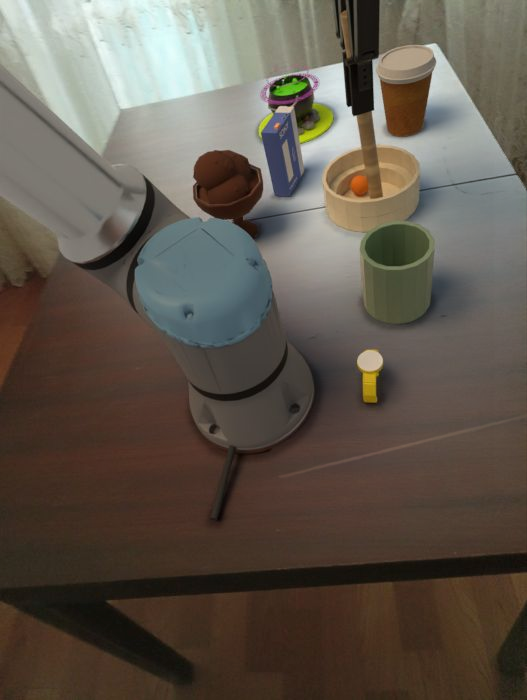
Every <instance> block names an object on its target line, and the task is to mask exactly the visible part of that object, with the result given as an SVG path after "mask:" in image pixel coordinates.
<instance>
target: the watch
mask: <svg viewBox="0 0 527 700" xmlns="http://www.w3.org/2000/svg"><path fill="white" fill-rule="evenodd" d="M356 365H357V366H356V367H357V369H358V371H360V372H361V373H362V398H363V402H364V403H371V404H374V403H375V404H377V402H378V397H377V377H379V375H380V373H379V372H381V370H382V369H383V367H384V358H383V356H382V355H381V354H380V352H379V350H378V349H365V350H364V351H362V353H360V354H359V355H358V357H357V359H356Z"/></svg>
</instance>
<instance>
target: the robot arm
mask: <svg viewBox="0 0 527 700" xmlns="http://www.w3.org/2000/svg"><path fill="white" fill-rule="evenodd" d="M380 5H381V0H332V10H333V18H334V28H335V36H336V39H337V40H339V41H340V42H339V46H340V48H341V50H342V53H341V54H342V65H343V78H344V92H345V104H346V106H347V108H350V107H351V115H352V116H353V117H357V115H360V114H364V113H367V112H370V111H372V112H373V111H375V92H374V67H373V65H374V64H373V62H374V60H377V59H379V58H380V16H381V15H380V13H381V11H380V9H381V8H380V7H381V6H380ZM345 10H347V21H348V32H349V43H350V54H351V57H350V58H347V55H346V49H345V43H344V36H343V30H342V24H341V18H340V14H341V13H342V12H343V11H345ZM348 66H349V67H348ZM0 197H1V198H3V199H5V201H7V202H9V203H11V204H12V205H14V206H15V207H16V208H18V209H19V210H21V211H22V212H23V213H25V214H27V215H28V216H30V217H31V218H32V219H34V220H35V221H37V222H38V223H39V224H41V225H43V226H45V228H47V229H48V230H50V231H52V232H53V233H55V234H56V241H57V246H58V249H59V251H60V253H61V255H62V256H63V257H64V258H65V259H66V260H68V261H69V262H71V263H72V264H74V265H75V266H77V267H79V268H80V269H82V270H83V271H84V272H86V273H88V274H89V275H91V276H92V277H94V278H96V279H97V280H99V281H100V282H102V283H103V284H105V285H107V286H108V287H109V288H110V289H112V290H113V291H114V292H115V293H117V294H118V295H119V296H120V297H121V298H122V299H123V300H124V301H125V302H126V304H128V306H129V307H131V308H132V310H133V311H134V312H135V313H136V314H137V315H138V316H139V317H140V318H141V319H142V320H143V322H145V323H146V324H147V325H148V326H149V327H150V328H151V329H152V331H153V332H154V333H155V334H156V335H157V336H158V337H159V338H160V340H162V341H163V342H164V344H165V345H166V346H167V348H168V349H169V350H170V352H171V354H172V355H173V357H174V358H175V360H176V362H177V364H178V366H179V367H180V369H181V370H182V372H183V374H184V376H185V378H186V379H187V382H188V401H189V402H188V405H189V410H190V413H191V416H192V419H193V421H194V424H195V426H196V427H197V429H198V430H199V432H200V433H201V435H202V436H203V437H204V438H205V439H206V440H207V441H208V442H209V443H210V444H212V445H214V446H215V447H216V448H219V449H221V450H223V451H225V452H226V457H225V461H224V464H223V468H222V472H221V476H220V479H219V483H218V486H217V487H218V488H217V492H216V496H215V500H214V503H213V506H212V509H211V513H210V516H209V519H210V520H212V521H218V520H219V519H218V518H219V515H220V512H221V510H222V509H221V508H222V505H223V502H224V497H225V493H226V489H227V485H228V482H229V478H230V473H231V469H232V465H233V461H234V458H235V454H240V455H241V454H244V455H250V454H257V453H263V452H266V451H269V450H272V448H275V447H276V446H278V445H280V444H282V443H284V442H285V441H286V440H288V439H290V438H291V437H292V436H293V435H294V434H296V433H297V432H298V431H299V429H300V428H301V427H302V426H303V425H304V423H305V422H306V421H307V419H308V417H309V415H310V414H311V411H312V408H313V406H314V402H315V394H316V393H315V391H316V390H315V384H314V382H315V381H314V378H313V374H312V371H311V368H310V366H309V365H308V363H307V361H306V360H305V358H304V356H303V355H302V354H301V353H300V352H299V351H298V350H297V349H296V348H295V346H293V345H292V344H291V342H290V341H288V339H287V337H286V334H285V329H284V326H283V322H282V318H281V314H280V312H279V308H278V304H277V301H276V297H275V293H274V290H273V289H274V288H273V280H272V277H271V272H270V269H269V268H268V265H267V261H266V260H265V259H264V257H263V255H262V252H261V250H260V248H259V246H258V244H257V243H256V241H255V239H252V237H251V236H250V235H249V234H248V233H247V232H246V231H244V230H243V229H242V228H240V227H239V226H237V225H235V224H234V222H231V221H228V220H223V219H218V218H214V217H209V218H208V219H207V220H206V221H203V219H202V217H198V216H197V217H190V216H189V215H187V214H186V213H185V212H184V211H182V209H180V208H179V207H177V206H176V204H174V203H173V202H172V201H171V200H170V199H169V198H168V197H167V196H166V195H165V194H164V193H163V192H162V191H161V190H160V189H158V187H157V186H156V185H154V183H152V181H150V180H149V178H147V177H146V176H145V175H144V174H143V173H142V172H141V171H140V170H139V169H138V168H137V167H135V166H133V165H132V164H128V163H115V164H111V163H109V161H107V160H106V159H105V158H104V157H103V156H102V155H101V154H99V153H98V152H97V151H96V150H95V149H94V148H93V147H92V146H91V145H90V144H89V143H88V142H87V141H85V140H84V139H83V138H82V137H81V136H80V135H79V134H78V133H77V132H76V131H75V130H73V128H71V126H70V125H68V124H67V123H66V122H65V121H64V120H63V119H61V118H60V117H59V116H58V115H57V113H55V112H54V111H53V110H52V109H51V108H50V107H48V106H47V105H46V104H45V103H44V101H42V100H41V99H40V98H39V97H38V96H37V95H36V94H34V93H33V92H32V91H31V90H30V89H29V88H28V87H27V86H26V85H25V84H24V83H23V82H21V81H20V80H19V79H18V78H17V77H16V75H14V74H13V73H12V72H10V71H9V70H8V69H7V68H6V67H5V66H4V65H3V64H2V63H1V62H0Z"/></svg>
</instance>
